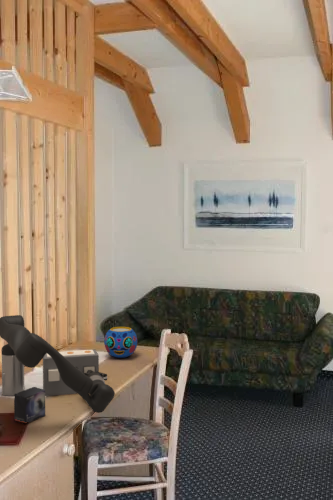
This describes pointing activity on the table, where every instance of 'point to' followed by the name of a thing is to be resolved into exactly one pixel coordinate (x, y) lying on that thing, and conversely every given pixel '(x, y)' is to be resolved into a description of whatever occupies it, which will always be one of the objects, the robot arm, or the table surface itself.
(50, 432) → the table surface
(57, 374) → the left button
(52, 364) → the control panel
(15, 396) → the small box
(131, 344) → the ceramic pot
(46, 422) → the table surface
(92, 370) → the right button
